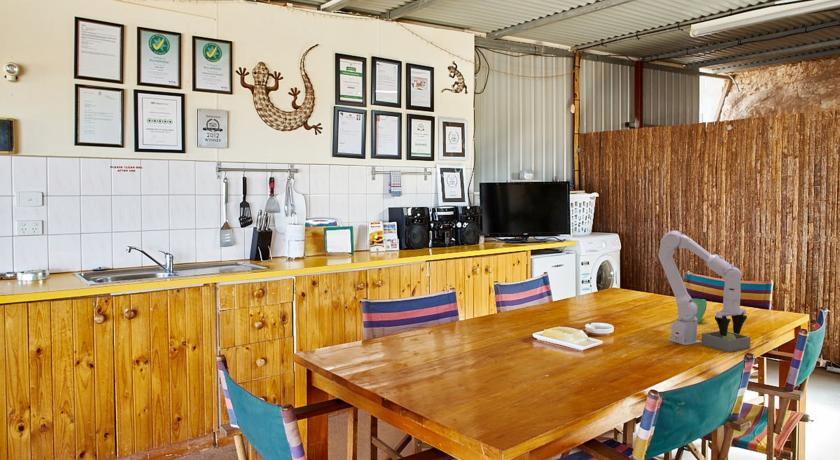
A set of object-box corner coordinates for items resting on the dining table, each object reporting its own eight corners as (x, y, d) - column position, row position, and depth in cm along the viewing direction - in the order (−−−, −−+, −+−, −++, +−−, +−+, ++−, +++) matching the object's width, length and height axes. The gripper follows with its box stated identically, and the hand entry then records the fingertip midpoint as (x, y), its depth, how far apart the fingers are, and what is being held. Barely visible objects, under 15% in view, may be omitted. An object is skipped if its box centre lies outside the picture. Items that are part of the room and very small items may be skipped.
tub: (729, 352, 233) (729, 340, 233) (701, 344, 244) (701, 333, 243) (749, 348, 239) (750, 337, 238) (721, 341, 249) (722, 330, 249)
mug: (699, 326, 275) (700, 303, 274) (677, 322, 282) (678, 300, 281) (714, 321, 284) (715, 299, 284) (693, 317, 292) (694, 296, 291)
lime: (729, 348, 238) (729, 335, 237) (719, 344, 242) (719, 332, 242) (739, 346, 240) (739, 334, 239) (729, 343, 244) (729, 331, 244)
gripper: (728, 302, 232) (726, 339, 234) (753, 299, 239) (751, 334, 240) (711, 299, 239) (710, 334, 240) (736, 296, 245) (735, 330, 246)
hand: (730, 334), depth 240 cm, fingers open, 7 cm apart
